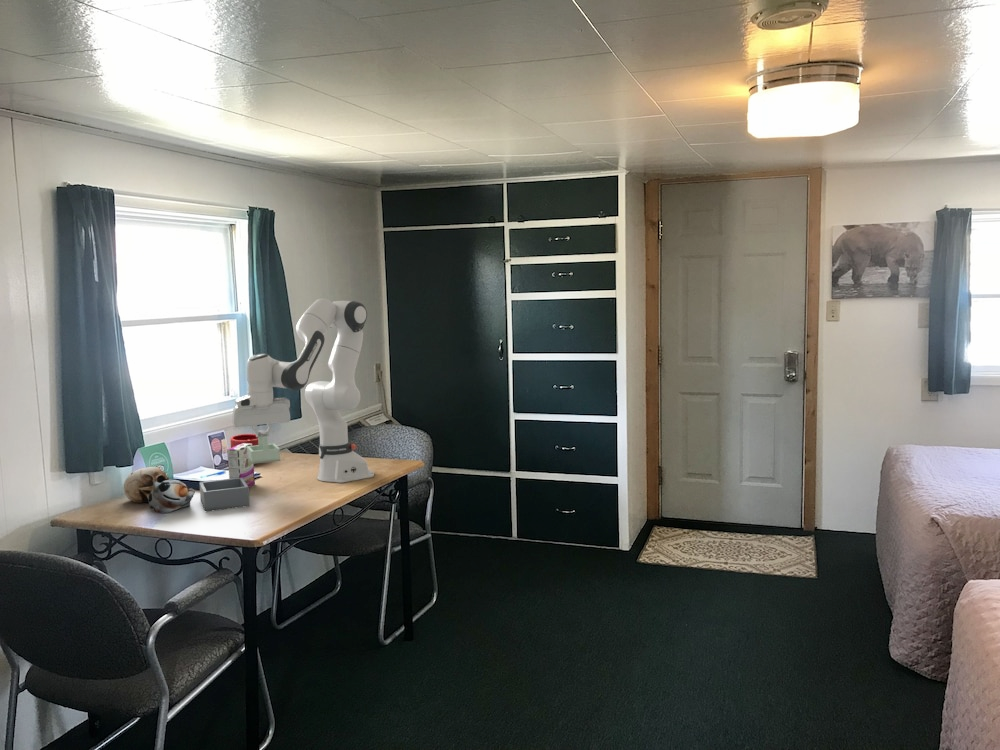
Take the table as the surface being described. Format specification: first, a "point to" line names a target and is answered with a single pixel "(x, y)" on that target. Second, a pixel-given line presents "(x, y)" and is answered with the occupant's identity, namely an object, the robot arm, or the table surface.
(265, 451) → the small crate
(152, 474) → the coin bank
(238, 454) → the candy bar box
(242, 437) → the plant pot
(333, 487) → the table surface
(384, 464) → the table surface
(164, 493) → the lucky cat figurine
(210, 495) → the large crate
